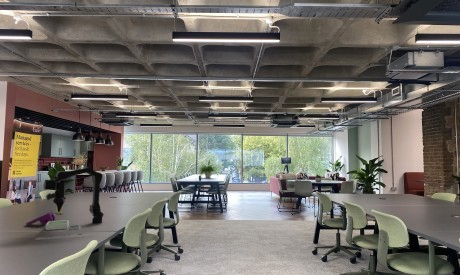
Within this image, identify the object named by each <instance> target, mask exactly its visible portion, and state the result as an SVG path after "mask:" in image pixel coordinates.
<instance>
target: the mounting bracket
mask: <svg viewBox="0 0 460 275" xmlns="http://www.w3.org/2000/svg"><path fill="white" fill-rule="evenodd" d="M49 221H56V215H55V214H54V212H53V211H52V210H51V211H49V212H47V213H45V214H43V215H40V216H38V217H36V218H34V219H32V220H30V221H28V222H26V223H25V225H26V227H28V226H31V225H33V224H35V223H37V222H39V224H41V226H42V227H46V224H47V223H48V222H49Z"/></svg>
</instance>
